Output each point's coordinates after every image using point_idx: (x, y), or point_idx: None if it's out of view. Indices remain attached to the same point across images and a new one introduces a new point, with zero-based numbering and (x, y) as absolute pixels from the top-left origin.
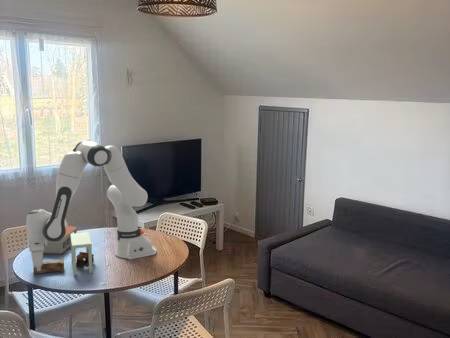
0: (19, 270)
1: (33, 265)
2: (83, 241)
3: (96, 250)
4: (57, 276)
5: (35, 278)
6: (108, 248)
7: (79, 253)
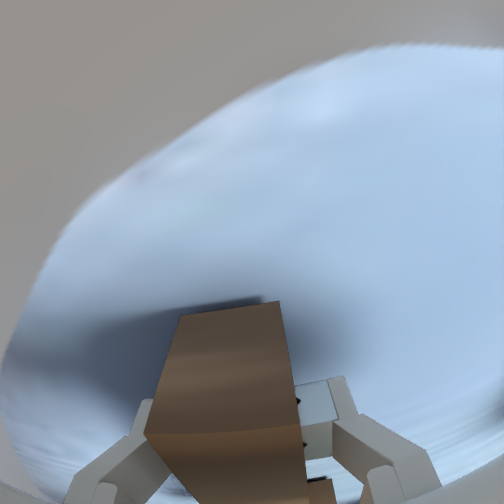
0: (397, 57)
1: (146, 426)
2: None
3: None
4: None
5: (76, 342)
6: None
7: None
